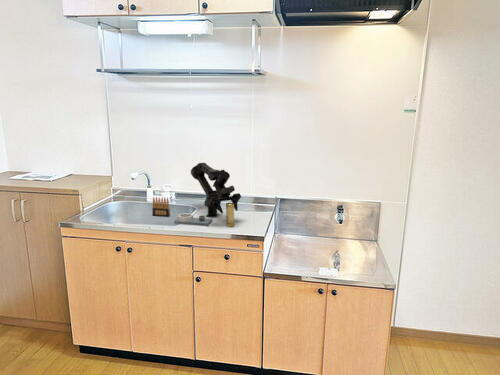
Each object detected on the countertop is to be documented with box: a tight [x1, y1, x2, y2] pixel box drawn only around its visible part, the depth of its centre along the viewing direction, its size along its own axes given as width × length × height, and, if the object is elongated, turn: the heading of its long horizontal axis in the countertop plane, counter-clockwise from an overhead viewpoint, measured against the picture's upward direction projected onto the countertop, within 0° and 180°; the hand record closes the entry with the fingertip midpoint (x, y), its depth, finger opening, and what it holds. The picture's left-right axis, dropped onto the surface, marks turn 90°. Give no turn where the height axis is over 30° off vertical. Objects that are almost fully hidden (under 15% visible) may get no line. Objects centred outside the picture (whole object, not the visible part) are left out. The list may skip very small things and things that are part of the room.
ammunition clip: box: [152, 196, 171, 218], centre depth 225 cm, size 11×2×12 cm, turn 80°
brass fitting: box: [225, 202, 235, 228], centre depth 209 cm, size 4×4×13 cm
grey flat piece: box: [173, 212, 213, 227], centre depth 215 cm, size 9×20×4 cm, turn 80°
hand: (229, 212), depth 209 cm, fingers open, 9 cm apart
